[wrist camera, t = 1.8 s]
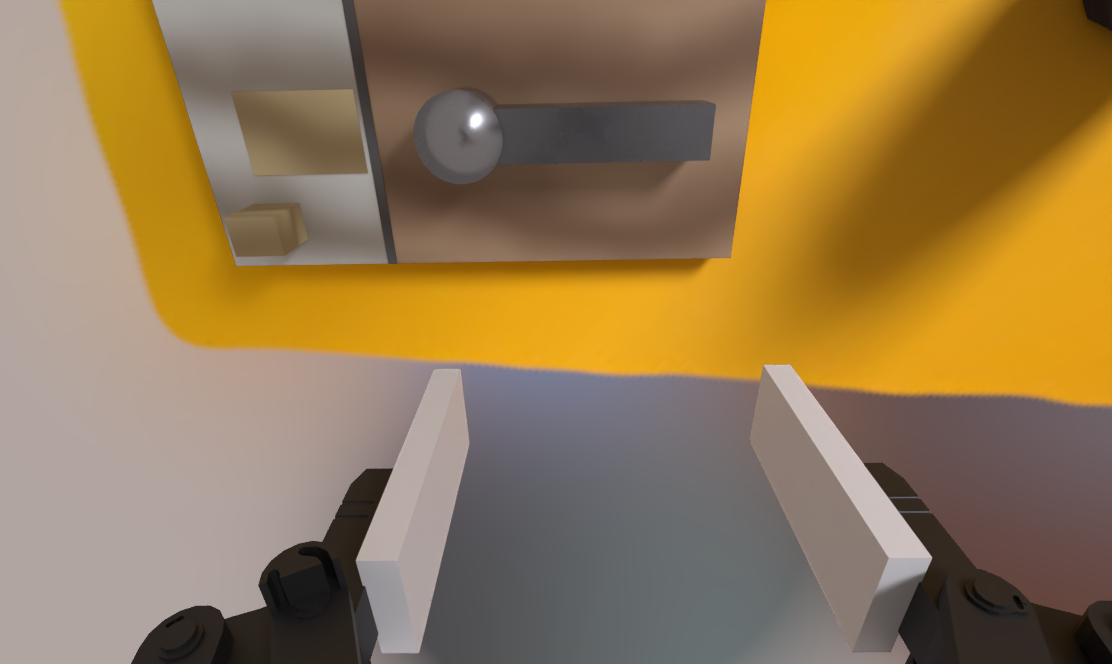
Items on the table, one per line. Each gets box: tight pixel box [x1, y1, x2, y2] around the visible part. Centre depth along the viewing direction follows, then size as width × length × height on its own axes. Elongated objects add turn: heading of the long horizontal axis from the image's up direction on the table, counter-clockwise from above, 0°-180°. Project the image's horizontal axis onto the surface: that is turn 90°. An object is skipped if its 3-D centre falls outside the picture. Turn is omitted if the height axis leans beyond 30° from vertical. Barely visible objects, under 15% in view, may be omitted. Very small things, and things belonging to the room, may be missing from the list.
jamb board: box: [152, 0, 766, 266], centre depth 25 cm, size 20×28×5 cm
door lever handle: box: [413, 87, 716, 184], centre depth 25 cm, size 14×4×3 cm, turn 91°
